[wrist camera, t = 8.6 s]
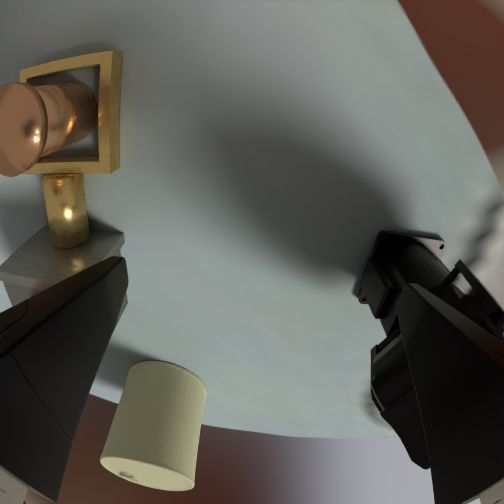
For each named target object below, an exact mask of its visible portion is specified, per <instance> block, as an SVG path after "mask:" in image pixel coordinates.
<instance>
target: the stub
mask: <svg viewBox="0 0 504 504" xmlns="http://www.w3.org/2000/svg"><path fill="white" fill-rule="evenodd" d="M97 116H98V104H97V100H96V97H95V95H94V93H93V92H92V90H91V89H90V88H89V87H88V86H86V85H84V84H82V83H63V84H52V85H42V86H34V87H33V86H31V85H30V84H27V83H23V82H18V83H11V84H6V85H4V86H2V87H0V174H2V175H4V176H8V177H13V176H17V175H20V174H22V173H24V172H25V171H27V170H29V169H31V168H32V167H33V166H34V165H35V164H36V163H37V162H38V160H39V159H40V158H41V157H43V156H46V155H48V154H50V153H52V152H55V151H57V150H59V149H62V148H64V147H66V146H69V145H71V144H74V143H76V142H79V141H81V140H83V139H84V138H86V137H87V136H88V135H89V134H90V132H91V131H92V130H93V128H94V126H95V123H96V120H97Z"/></svg>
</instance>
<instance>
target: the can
mask: <svg viewBox="0 0 504 504" xmlns="http://www.w3.org/2000/svg"><path fill="white" fill-rule="evenodd" d="M206 397H207V390H206V387H205V385H204V383H203V382H202V381H201V380H200V379H199V378H198V377H197V376H196V375H195V374H193V373H192V372H190V371H188V370H186V369H184V368H182V367H180V366H177V365H174V364H171V363H167V362H161V361H143V362H139V363H137V364H135V365H133V366H132V367H131V368H130V369H129V371H128V375H127V381H126V384H125V387H124V390H123V393H122V396H121V399H120V402H119V405H118V408H117V411H116V414H115V417H114V420H113V423H112V426H111V429H110V432H109V435H108V438H107V442H106V444H105V447H104V450H103V453H102V456H101V457H100V462H101V464H102V465H103V466H104V467H105V468H106V469H108V470H109V471H111V472H112V473H114V474H116V475H118V476H120V477H122V478H124V479H126V480H129V481H131V482H134V483H137V484H140V485H144V486H148V487H152V488H156V489H162V490H171V491H184V490H189V489H191V488H193V487H194V476H195V466H196V458H197V450H198V441H199V434H200V427H201V421H202V414H203V408H204V402H205V399H206Z"/></svg>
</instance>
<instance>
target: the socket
mask: <svg viewBox="0 0 504 504" xmlns="http://www.w3.org/2000/svg"><path fill="white" fill-rule="evenodd" d="M122 59H123V52H118V51H113V50H112V51H105V52H98V53H92V54H86V55H80V56H75V57H70V58H65V59H61V60H56V61H52V62H48V63H44V64H40V65H36V66H32V67H29V68H25V69H22V70H20V76H19V82H23V83H27V84H30V85H31V86H33V87H34V86H39V77H43V76H47V75H52V74H57V73H62V72H67V71H72V70H78V69H84V68H91V67H98V66H100V80H99V108H98V137H99V156H81V157H54V158H40V159H39V160H38V162H37V163H36V164H35V165H34V166H33V167H32V168H31V169H29V170H27V171H25V172H24V173H23V174H51V173H112V172H113V171H115V170H116V169H118V168H119V167H120V147H119V122H120V90H121V73H122Z"/></svg>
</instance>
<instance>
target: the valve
mask: <svg viewBox="0 0 504 504" xmlns="http://www.w3.org/2000/svg"><path fill="white" fill-rule="evenodd" d="M41 180H42V188H43V196H44V202H45V209H46V215H47V220H48V226H49V227H46V226H44V227H43V228H42V229H40V230H39V231H38V232H37V233H36V234H35V235H33V236H32V237H31V238H30V239H29V240H28V241H26V242H25V243H24V244H23V245H22V246H21V247H20V248H19V249H18V250H16V251H15V252H14V253H13V254H12V255H11V256H10V257H9V258H8V259H7V260H6V261H5V262H4V263H3V264H2V265H1V266H0V280H1V281H3V283H4V286H5V288H6V291H7V294H8V296H9V299H10V301H11V304H12V306H15V305H17V304H19V303H21V302H22V301H24V300H26V299H29V298H30V297H32V296H34V295H35V294H37V293H39V292H41V291H43V290H45V289H47V288H49V287H51V286H53V285H54V284H56V283H58V282H60V281H62V280H64V279H66V278H68V277H70V276H72V275H74V274H76V273H78V272H80V271H82V270H84V269H86V268H88V267H90V266H92V265H94V264H96V263H98V262H100V261H102V260H104V259H107V258H109V257H111V256H120V257H121V254H120V248H121V247H122V246H123V244H124V243H125V241H124V233H114V232H103V231H92V230H89V224H88V216H87V208H86V199H85V189H84V178H83V173H51V174H45V175H44V176H42V178H41ZM127 303H128V300H127V295H126V293H125V297H124V300H123V303H122V306H121V310H120V313H119V316H118V320H117V323H118V321H119V319H120V317H121V315H122V313H123V311H124V309H125V307H126V305H127ZM117 323H116V325H117ZM115 327H116V326H115ZM114 329H115V328H114Z"/></svg>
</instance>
